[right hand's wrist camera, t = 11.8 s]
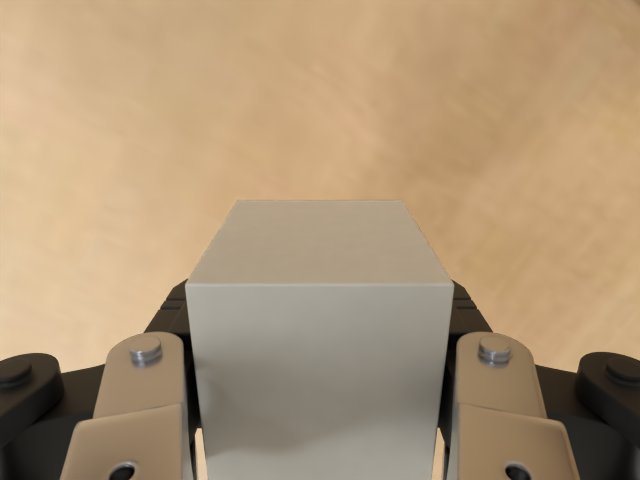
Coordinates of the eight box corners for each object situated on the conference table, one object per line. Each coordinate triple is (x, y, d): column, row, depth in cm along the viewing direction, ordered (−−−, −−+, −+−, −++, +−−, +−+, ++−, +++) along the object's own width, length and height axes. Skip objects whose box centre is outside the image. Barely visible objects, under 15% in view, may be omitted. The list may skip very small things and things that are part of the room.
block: (236, 199, 12) (183, 284, 7) (402, 199, 12) (456, 284, 7) (247, 362, 13) (210, 513, 9) (391, 362, 13) (428, 513, 9)
